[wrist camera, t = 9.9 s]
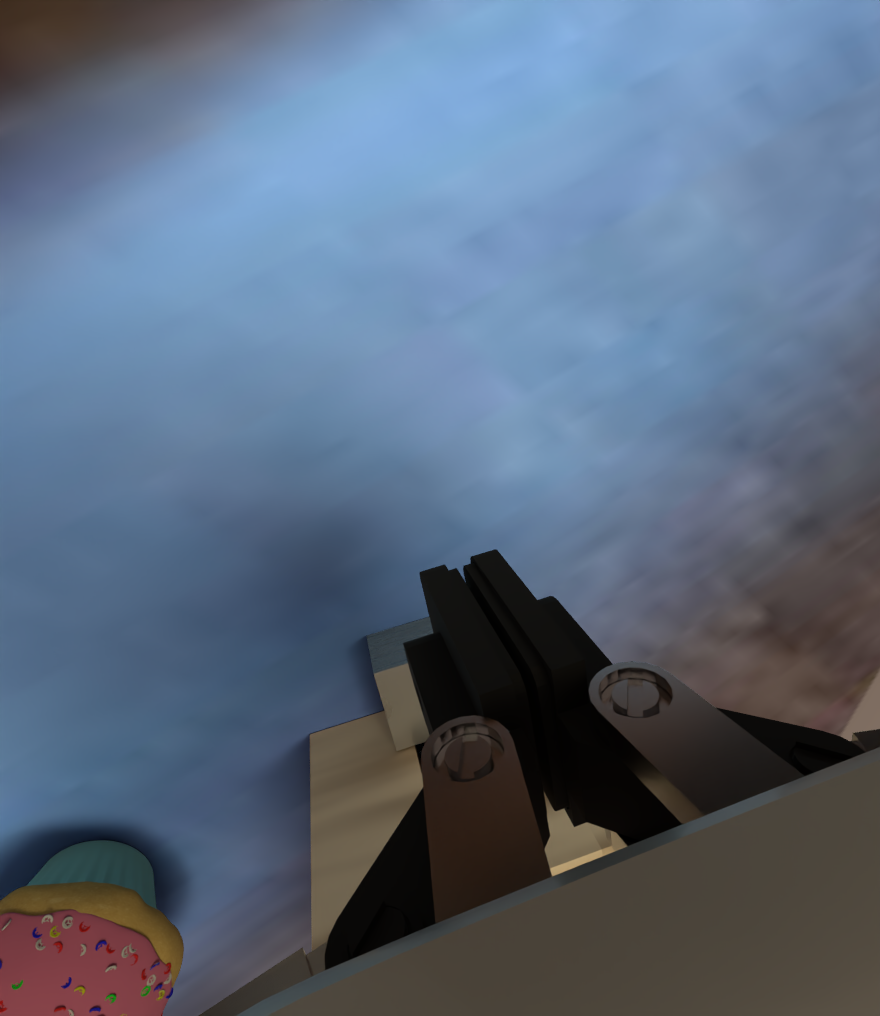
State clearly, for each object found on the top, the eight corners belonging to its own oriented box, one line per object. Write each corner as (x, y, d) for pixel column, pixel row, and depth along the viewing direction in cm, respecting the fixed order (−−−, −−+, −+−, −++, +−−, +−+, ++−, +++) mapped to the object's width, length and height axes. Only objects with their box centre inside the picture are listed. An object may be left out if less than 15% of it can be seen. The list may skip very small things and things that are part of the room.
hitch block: (309, 734, 27) (311, 956, 18) (590, 645, 29) (726, 803, 19) (353, 856, 30) (375, 1103, 20) (607, 768, 32) (732, 958, 22)
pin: (366, 635, 26) (373, 673, 23) (489, 598, 27) (510, 631, 24) (446, 907, 32) (459, 963, 30) (544, 871, 33) (566, 922, 30)
